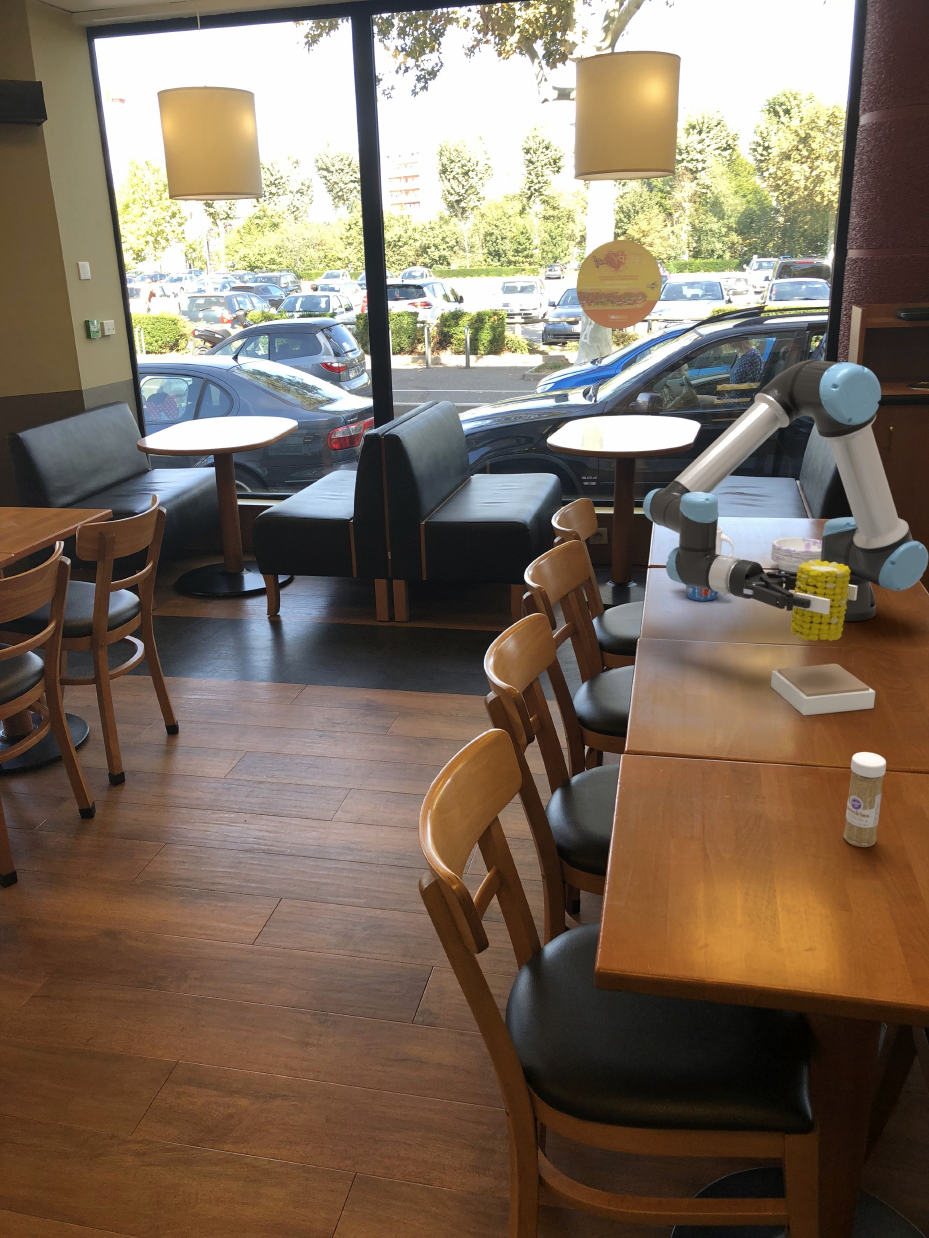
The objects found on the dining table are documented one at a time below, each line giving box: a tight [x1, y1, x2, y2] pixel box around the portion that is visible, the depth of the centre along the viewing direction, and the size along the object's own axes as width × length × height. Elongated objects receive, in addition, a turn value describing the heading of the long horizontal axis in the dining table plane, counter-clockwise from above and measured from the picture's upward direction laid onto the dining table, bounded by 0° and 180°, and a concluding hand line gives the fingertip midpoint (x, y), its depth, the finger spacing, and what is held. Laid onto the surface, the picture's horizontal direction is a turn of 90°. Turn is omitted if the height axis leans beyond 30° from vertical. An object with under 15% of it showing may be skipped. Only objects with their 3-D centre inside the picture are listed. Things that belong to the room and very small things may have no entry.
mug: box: [716, 525, 735, 557], centre depth 274 cm, size 9×12×11 cm
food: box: [789, 559, 851, 642], centre depth 184 cm, size 15×12×10 cm
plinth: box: [770, 663, 876, 716], centre depth 189 cm, size 14×14×4 cm
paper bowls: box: [770, 536, 822, 572], centre depth 267 cm, size 15×15×8 cm
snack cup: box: [685, 585, 719, 602], centre depth 248 cm, size 16×10×10 cm
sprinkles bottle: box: [843, 751, 887, 848], centre depth 140 cm, size 5×5×13 cm
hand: (842, 600), depth 180 cm, fingers closed on food, 10 cm apart
